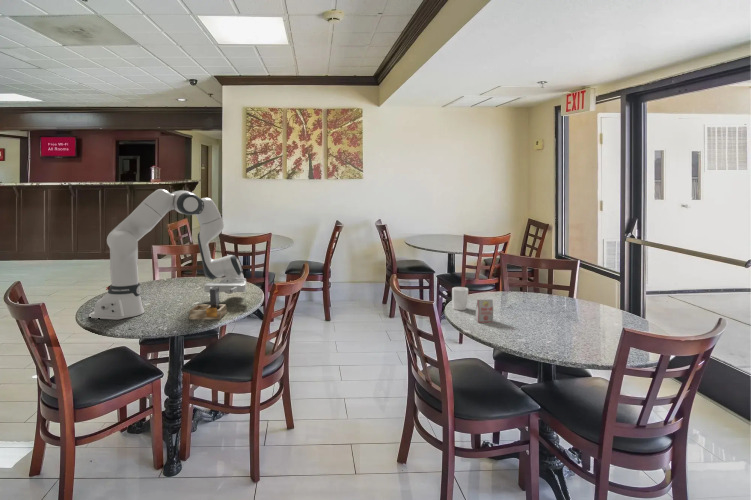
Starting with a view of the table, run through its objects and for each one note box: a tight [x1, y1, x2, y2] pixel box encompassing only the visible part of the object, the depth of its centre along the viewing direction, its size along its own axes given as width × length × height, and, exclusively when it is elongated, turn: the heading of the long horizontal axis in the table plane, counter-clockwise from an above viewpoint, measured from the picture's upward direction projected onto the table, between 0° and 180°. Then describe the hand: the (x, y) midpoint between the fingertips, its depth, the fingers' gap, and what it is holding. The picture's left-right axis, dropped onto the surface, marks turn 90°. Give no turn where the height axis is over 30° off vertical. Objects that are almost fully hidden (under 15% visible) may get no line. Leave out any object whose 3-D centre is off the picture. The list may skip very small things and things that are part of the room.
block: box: [209, 287, 220, 310], centre depth 212 cm, size 2×5×12 cm, turn 2°
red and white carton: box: [475, 299, 494, 324], centre depth 207 cm, size 4×7×10 cm, turn 95°
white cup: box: [451, 286, 469, 311], centre depth 227 cm, size 8×8×10 cm
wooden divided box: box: [188, 304, 228, 320], centre depth 212 cm, size 14×12×5 cm
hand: (221, 291), depth 221 cm, fingers open, 8 cm apart
